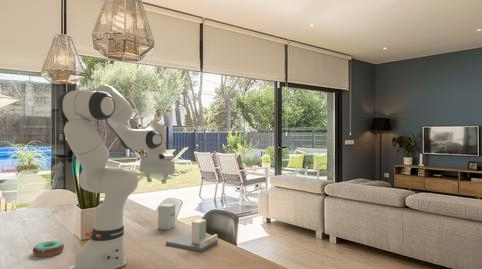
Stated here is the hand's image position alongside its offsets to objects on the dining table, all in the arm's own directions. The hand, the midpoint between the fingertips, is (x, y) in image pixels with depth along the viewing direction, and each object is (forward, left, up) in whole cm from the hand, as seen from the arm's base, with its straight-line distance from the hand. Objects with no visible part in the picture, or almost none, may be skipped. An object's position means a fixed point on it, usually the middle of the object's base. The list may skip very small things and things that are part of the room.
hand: (156, 182), depth 169 cm
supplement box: (+18, +7, -28) cm, 34 cm away
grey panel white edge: (+2, -21, -28) cm, 35 cm away
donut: (-37, +28, -28) cm, 55 cm away
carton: (+2, -24, -27) cm, 36 cm away
